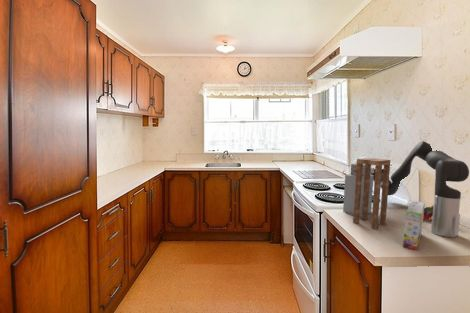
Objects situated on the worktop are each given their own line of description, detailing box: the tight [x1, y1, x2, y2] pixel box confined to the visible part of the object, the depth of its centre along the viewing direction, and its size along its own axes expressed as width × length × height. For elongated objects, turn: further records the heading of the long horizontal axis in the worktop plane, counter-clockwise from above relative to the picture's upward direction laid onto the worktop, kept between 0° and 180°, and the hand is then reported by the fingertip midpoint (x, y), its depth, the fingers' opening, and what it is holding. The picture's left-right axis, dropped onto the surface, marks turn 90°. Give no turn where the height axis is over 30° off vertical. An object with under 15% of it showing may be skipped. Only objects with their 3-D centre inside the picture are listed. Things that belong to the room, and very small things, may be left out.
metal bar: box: [350, 162, 375, 176], centre depth 155 cm, size 6×18×6 cm, turn 128°
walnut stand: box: [352, 157, 391, 230], centre depth 134 cm, size 11×10×32 cm
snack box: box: [402, 200, 426, 251], centre depth 115 cm, size 21×6×15 cm, turn 143°
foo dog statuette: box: [423, 205, 433, 222], centre depth 141 cm, size 8×10×12 cm
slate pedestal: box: [342, 173, 374, 217], centre depth 154 cm, size 10×12×21 cm
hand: (368, 165), depth 158 cm, fingers open, 8 cm apart
